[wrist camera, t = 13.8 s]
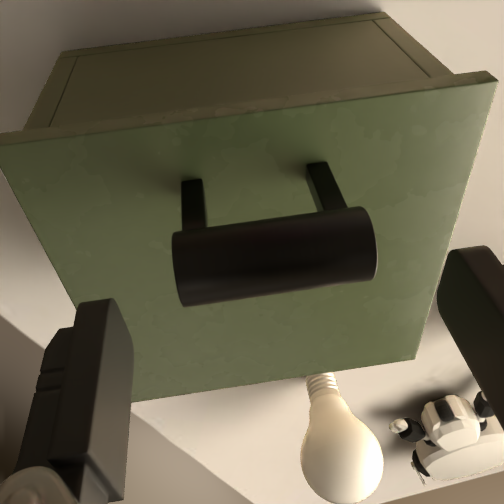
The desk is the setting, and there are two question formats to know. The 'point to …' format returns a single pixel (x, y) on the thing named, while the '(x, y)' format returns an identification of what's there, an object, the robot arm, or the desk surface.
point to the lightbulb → (338, 446)
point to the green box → (230, 68)
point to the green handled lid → (258, 225)
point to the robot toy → (454, 438)
